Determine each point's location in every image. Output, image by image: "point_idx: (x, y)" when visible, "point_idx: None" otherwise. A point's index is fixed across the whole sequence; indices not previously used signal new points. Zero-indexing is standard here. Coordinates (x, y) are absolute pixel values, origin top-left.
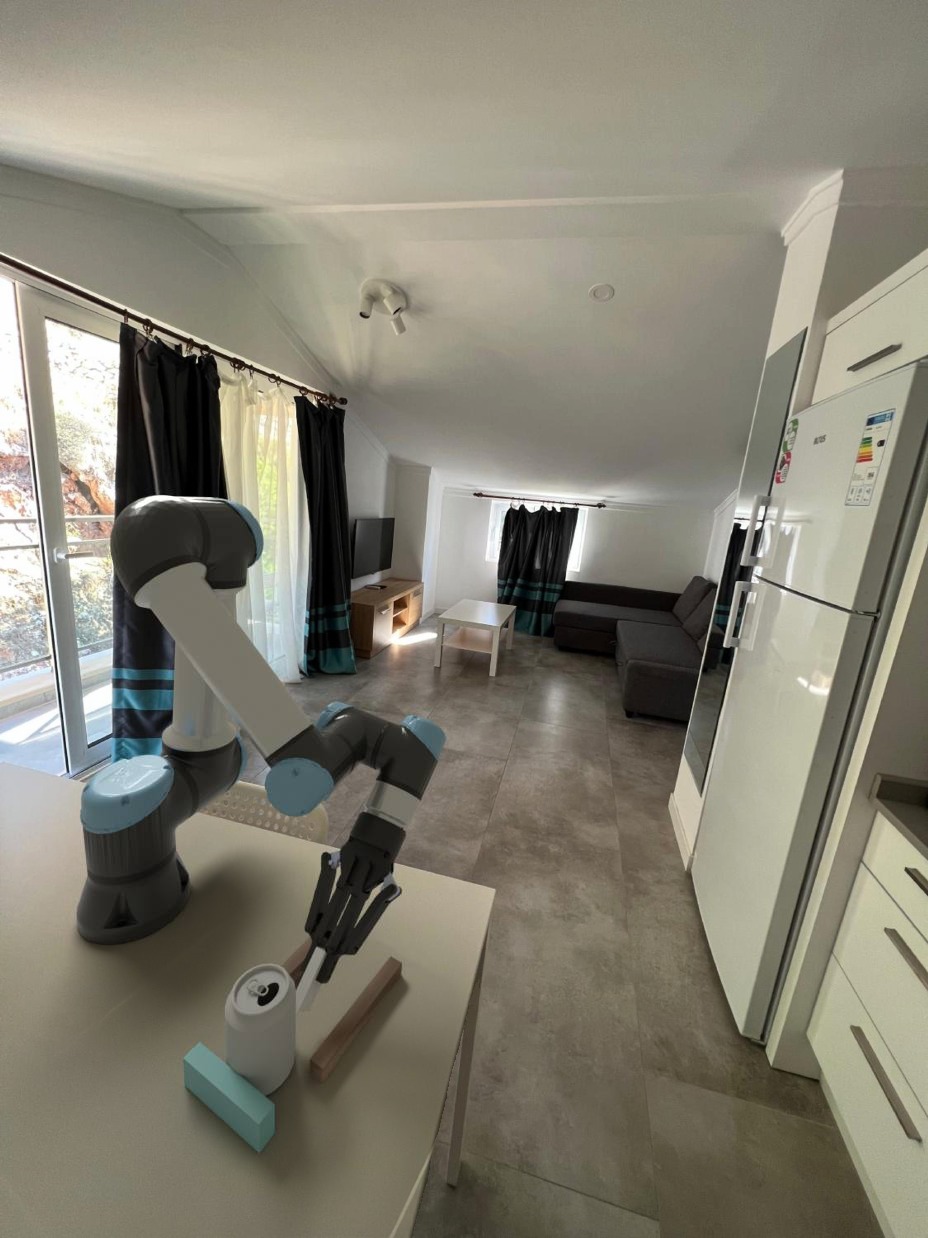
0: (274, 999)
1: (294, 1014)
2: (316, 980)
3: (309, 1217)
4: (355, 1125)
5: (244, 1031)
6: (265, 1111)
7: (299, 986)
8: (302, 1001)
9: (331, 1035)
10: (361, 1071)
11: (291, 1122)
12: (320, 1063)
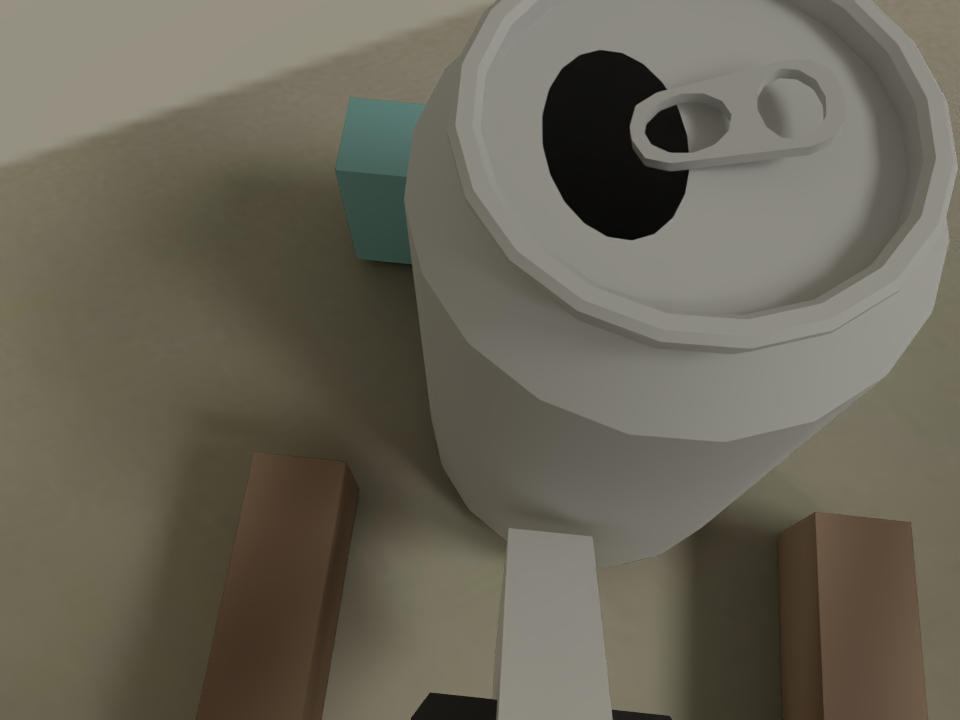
0: (532, 123)
1: (435, 353)
2: (485, 701)
3: (106, 152)
4: (57, 415)
5: None
6: (357, 139)
7: (589, 613)
8: (510, 564)
9: (303, 619)
10: (120, 614)
11: (323, 320)
12: (279, 467)
